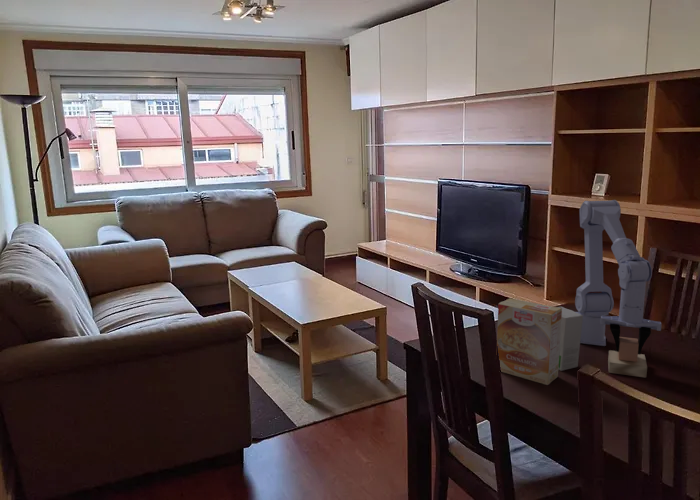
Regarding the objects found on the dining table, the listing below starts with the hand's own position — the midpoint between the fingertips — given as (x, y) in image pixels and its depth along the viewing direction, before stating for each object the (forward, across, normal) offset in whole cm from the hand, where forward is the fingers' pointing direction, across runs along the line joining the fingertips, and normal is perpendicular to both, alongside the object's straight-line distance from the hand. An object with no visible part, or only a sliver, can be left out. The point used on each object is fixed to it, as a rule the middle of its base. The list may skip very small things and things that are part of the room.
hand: (627, 351), depth 149 cm
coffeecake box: (+5, -25, -13) cm, 29 cm away
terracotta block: (+2, 0, 0) cm, 2 cm away
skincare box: (+5, -17, -3) cm, 18 cm away
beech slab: (+5, 0, 0) cm, 5 cm away
